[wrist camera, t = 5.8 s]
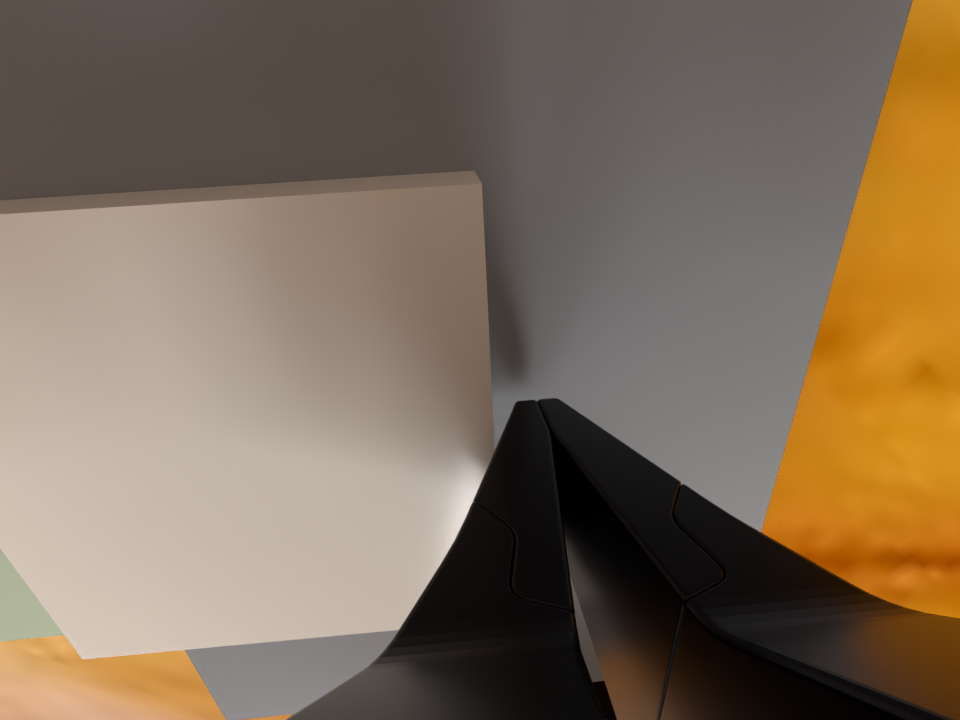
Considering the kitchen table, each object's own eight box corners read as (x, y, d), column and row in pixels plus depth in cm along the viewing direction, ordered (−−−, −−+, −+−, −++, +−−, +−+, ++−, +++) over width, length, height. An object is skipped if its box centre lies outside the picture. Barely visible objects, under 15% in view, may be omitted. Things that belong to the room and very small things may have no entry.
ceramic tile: (494, 546, 12) (502, 620, 10) (138, 578, 12) (82, 659, 10) (474, 170, 8) (482, 183, 6) (-76, 205, 8) (-238, 229, 6)
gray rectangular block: (669, 564, 19) (722, 668, 15) (269, 605, 18) (226, 720, 15) (806, -245, 9) (1055, -503, 5) (-70, -191, 8) (-457, -428, 5)
